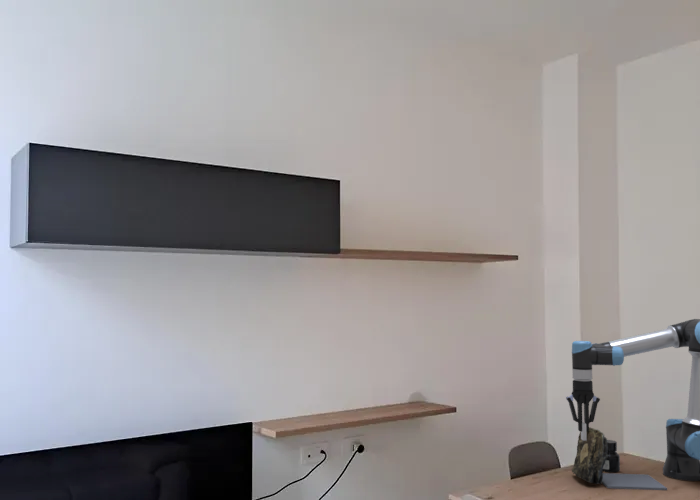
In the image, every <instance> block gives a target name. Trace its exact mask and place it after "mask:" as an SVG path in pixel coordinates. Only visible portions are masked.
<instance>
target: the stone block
mask: <svg viewBox="0 0 700 500" xmlns="http://www.w3.org/2000/svg"><path fill="white" fill-rule="evenodd" d="M577 439H578V440H577V445H576V456H575V458H574V462H573V463H574V464H573V466H572V468H571V472H572V473H573V475H575V476H576V477H578V478H579V479H582V480H584V481H586V482H588V483H591V484H596V485H598V484H599V485H601V484H602V479H603V473H604V471H602V470H603V466H604V464H605V461H606V459H607V457H608V454H607V453H608V445H607V444H608V441H607V440H608V438H607V437H605V433H603V432H602V431H600V430H599V429H596V428H593V427H591V426H589V432H587V441H584V440H582V439H581V431H579V435H578V438H577Z"/></svg>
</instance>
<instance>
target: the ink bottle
mask: <svg viewBox="0 0 700 500" xmlns="http://www.w3.org/2000/svg"><path fill="white" fill-rule="evenodd" d="M607 441H608V444H607V445H608V453H607V454H608V457H607V459H606V461H605V464H604V466H603V470H602V472H604V471H605V473H619V472H620V471H621V461H620V460H621V459H620V458H621V456H620V454H619V453H618V452H617V450H618V442H617V441H616V440H612V439H607Z"/></svg>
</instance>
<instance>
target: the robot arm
mask: <svg viewBox="0 0 700 500" xmlns="http://www.w3.org/2000/svg"><path fill="white" fill-rule="evenodd" d="M571 344H572V345H571V361H572V362H571V363H572V379H573V380H572V392H571V394H570V395H569V396H565V399H566V401H567V402H568V405H569V406H568V407H569V408H570V412H571V416H572V420H573V421H574V422H575V423H577V429H578V431H579V432H581V439H582V440H584V441H587V432H589V427H590V423H593V422H595V417H596V413H597V408H598V405H599V403H600V401H601V398H599V397H597V396H596V395H595V393H594V391H593V366H613V367H615V366H622V365H623V364H624V361H625V357H626V358H627V357H630V356H634V355H639V354H644V353H649V352H652V351H657V350H662V349H666V348H668V349H669V348H674V349H679V348H687V347H688V353H689V354H690V355H691V366H690V367H691V369H690V379H689V380H690V381H689V391H688V403H687V415H686V417H684V418H668V419H667V420H666V425H665V430H666V431H665V432H666V458H665V461H664V464H663V467H662V474H663V475H664V476H666V477H668V478H670V479H671V478H672V479H675V480H681V481H689V482H697V481H700V319H699V318H693V319H689V320H685V321H681V322H678V323H675V324H672V325H671V324H670V325H668V326H667V327H666V328H665V329H663V328H662V329H660V330H656V331H655V330H654V331H651V332H646V333H642V334H638V335H636V334H635V335H633V336H627V337H623V338H619V339H615V340H610V341H606V342H605V341H604V342H600V343H592V342H591V341H586V340H574V341H573V342H572V343H571ZM574 400H575V402H576V405H577V412H576V407H575V404H574V402H573V401H574ZM591 401H592V404H591V406H590V402H591ZM590 407H591V408H590ZM583 420H584V422H583Z"/></svg>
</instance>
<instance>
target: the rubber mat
mask: <svg viewBox="0 0 700 500" xmlns="http://www.w3.org/2000/svg"><path fill="white" fill-rule="evenodd" d="M601 484H603V486H605V488H606V489H616V490H617V489H619V490H647V491H648V490H649V491H650V490H651V491H668V487H667V486H664V484H662V483H661V482H659V481H658V480H657V479H655V478H654V477H652V476H651V475H649V474H648V473H647V474H643V473H642V474H641V473H640V474H639V473H638V474H637V473H616V472H605V473H604V472H603V479H602V483H601Z"/></svg>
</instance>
